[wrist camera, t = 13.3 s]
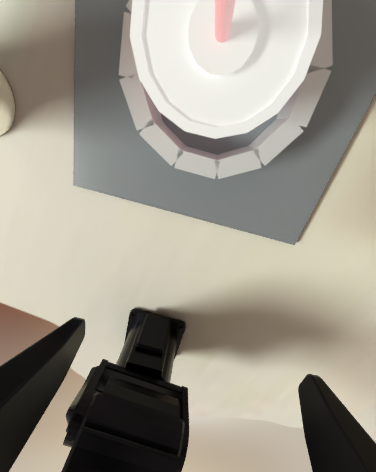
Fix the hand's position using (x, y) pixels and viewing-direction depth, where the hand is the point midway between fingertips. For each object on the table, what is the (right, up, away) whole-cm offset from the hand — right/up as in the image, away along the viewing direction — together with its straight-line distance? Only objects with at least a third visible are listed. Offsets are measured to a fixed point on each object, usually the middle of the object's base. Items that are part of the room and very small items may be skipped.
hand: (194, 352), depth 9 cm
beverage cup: (+2, +15, +7) cm, 17 cm away
